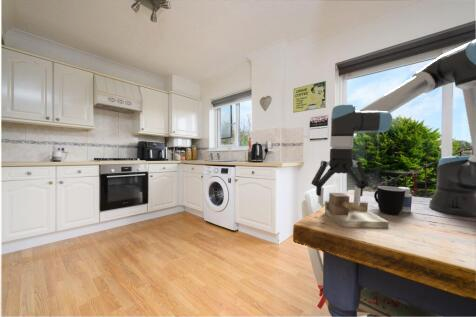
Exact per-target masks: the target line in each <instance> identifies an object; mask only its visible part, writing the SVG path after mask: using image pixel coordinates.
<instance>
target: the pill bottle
mask: <svg viewBox="0 0 476 317" xmlns="http://www.w3.org/2000/svg"><path fill="white" fill-rule="evenodd" d="M397 188H402V189H404V190H405V198H404V203H403V207H402V210H401V212H402V213H411V211H412V202H413V201H412V200H413V195H412V194H411V193H410V192H411V188H410V187H404V186H398V187H397ZM401 212H400V213H401Z"/></svg>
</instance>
